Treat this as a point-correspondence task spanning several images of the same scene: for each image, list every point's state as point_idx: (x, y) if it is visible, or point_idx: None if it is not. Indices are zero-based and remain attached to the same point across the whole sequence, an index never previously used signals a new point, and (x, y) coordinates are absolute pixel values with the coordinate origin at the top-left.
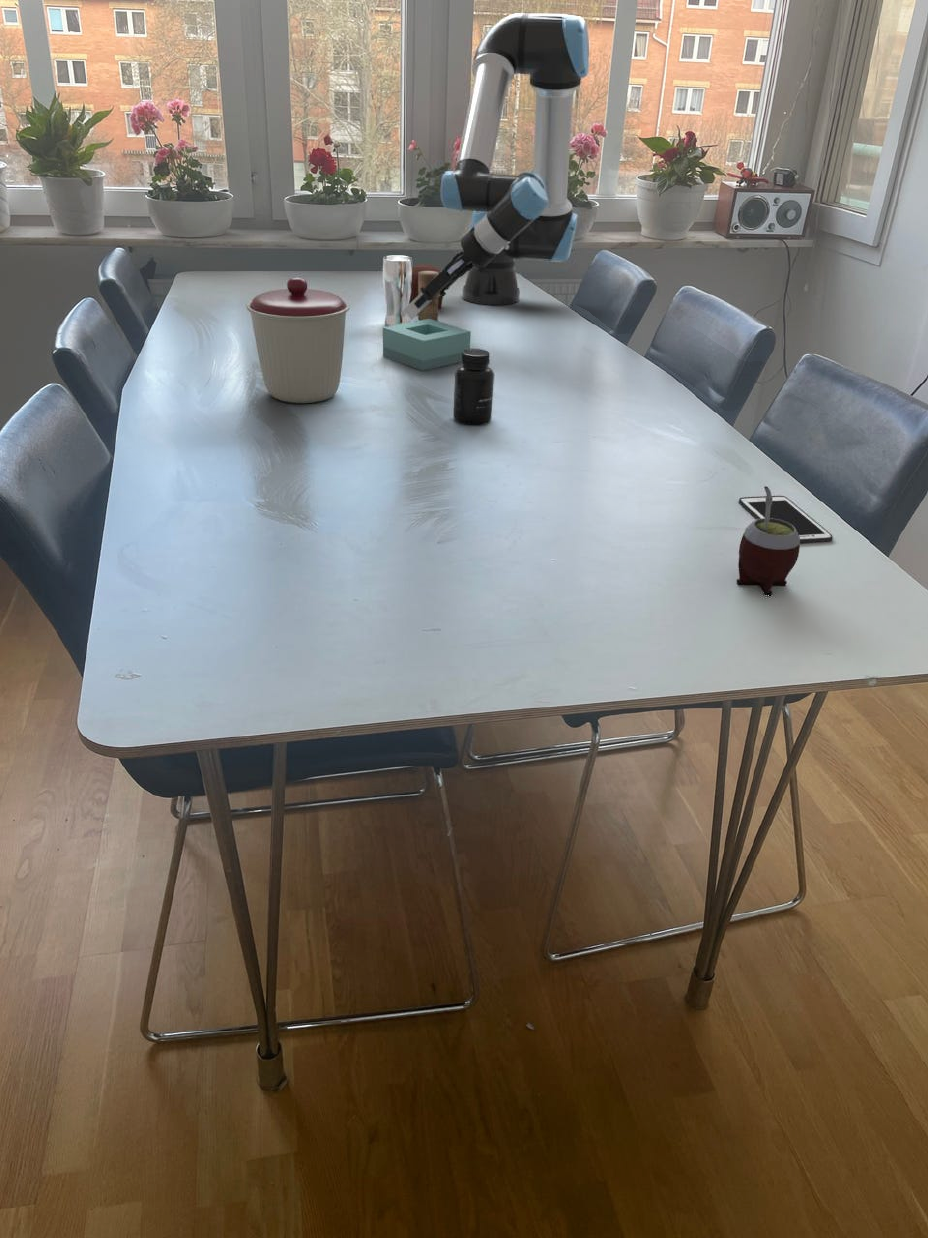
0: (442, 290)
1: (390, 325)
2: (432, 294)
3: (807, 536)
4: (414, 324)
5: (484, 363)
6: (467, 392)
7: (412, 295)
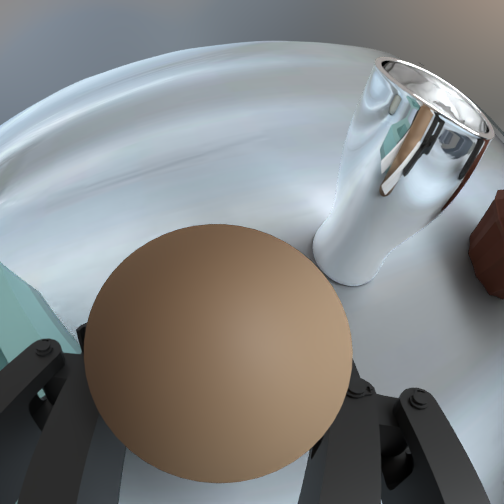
0: (310, 449)
1: (314, 239)
2: (33, 412)
3: None
4: (17, 347)
5: None
6: None
7: (485, 231)
